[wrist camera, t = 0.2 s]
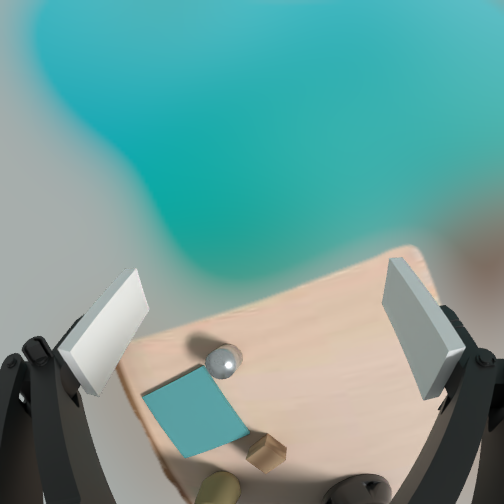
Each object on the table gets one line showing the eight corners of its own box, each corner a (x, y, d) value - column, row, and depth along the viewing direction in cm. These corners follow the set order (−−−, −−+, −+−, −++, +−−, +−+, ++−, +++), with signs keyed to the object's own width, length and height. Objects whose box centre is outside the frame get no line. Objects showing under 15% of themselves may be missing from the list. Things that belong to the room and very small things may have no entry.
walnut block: (286, 447, 44) (285, 460, 39) (268, 460, 43) (265, 474, 39) (267, 433, 45) (264, 445, 40) (250, 447, 45) (245, 459, 40)
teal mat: (249, 431, 45) (249, 434, 44) (186, 456, 46) (184, 458, 45) (204, 365, 49) (202, 366, 48) (144, 396, 49) (142, 397, 48)
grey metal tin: (247, 362, 48) (241, 370, 42) (225, 374, 48) (216, 384, 42) (232, 339, 49) (224, 344, 43) (210, 352, 49) (199, 358, 43)
